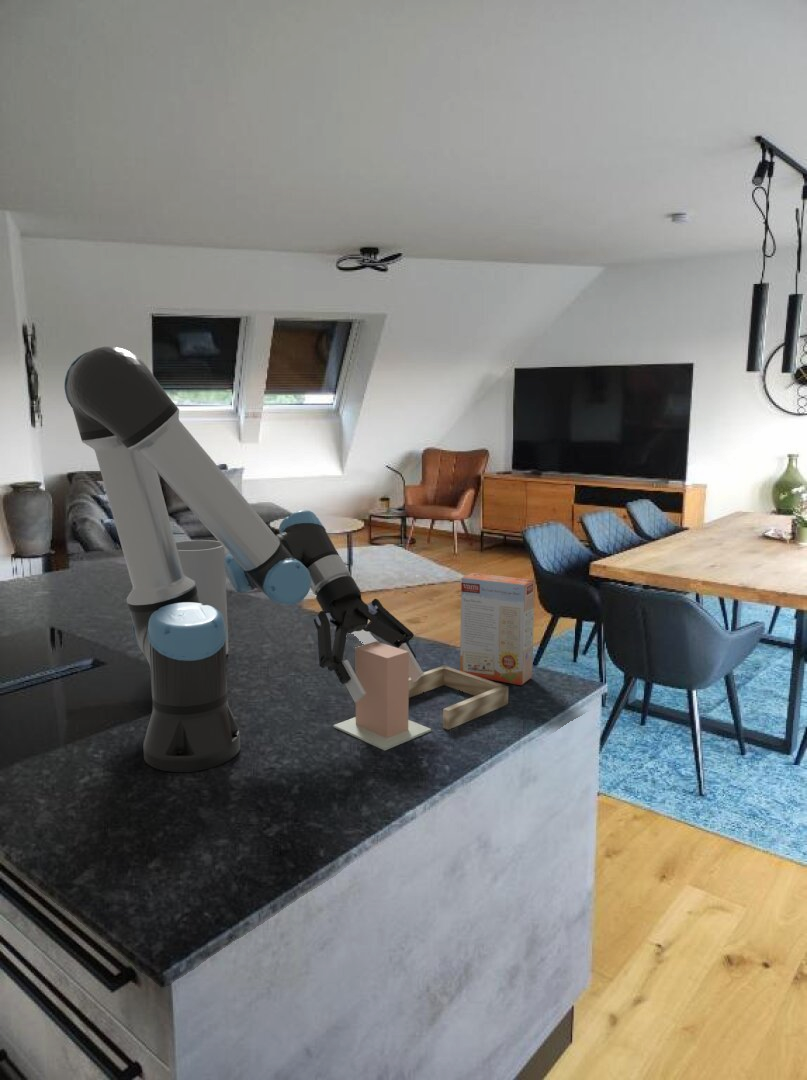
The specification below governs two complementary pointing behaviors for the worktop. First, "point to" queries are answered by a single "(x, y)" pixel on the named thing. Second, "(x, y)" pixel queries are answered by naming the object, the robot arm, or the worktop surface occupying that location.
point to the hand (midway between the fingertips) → (390, 687)
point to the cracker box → (497, 627)
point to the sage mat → (377, 739)
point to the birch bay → (483, 690)
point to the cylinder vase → (206, 572)
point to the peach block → (382, 688)
